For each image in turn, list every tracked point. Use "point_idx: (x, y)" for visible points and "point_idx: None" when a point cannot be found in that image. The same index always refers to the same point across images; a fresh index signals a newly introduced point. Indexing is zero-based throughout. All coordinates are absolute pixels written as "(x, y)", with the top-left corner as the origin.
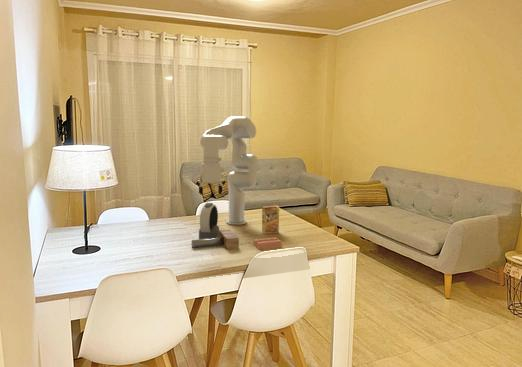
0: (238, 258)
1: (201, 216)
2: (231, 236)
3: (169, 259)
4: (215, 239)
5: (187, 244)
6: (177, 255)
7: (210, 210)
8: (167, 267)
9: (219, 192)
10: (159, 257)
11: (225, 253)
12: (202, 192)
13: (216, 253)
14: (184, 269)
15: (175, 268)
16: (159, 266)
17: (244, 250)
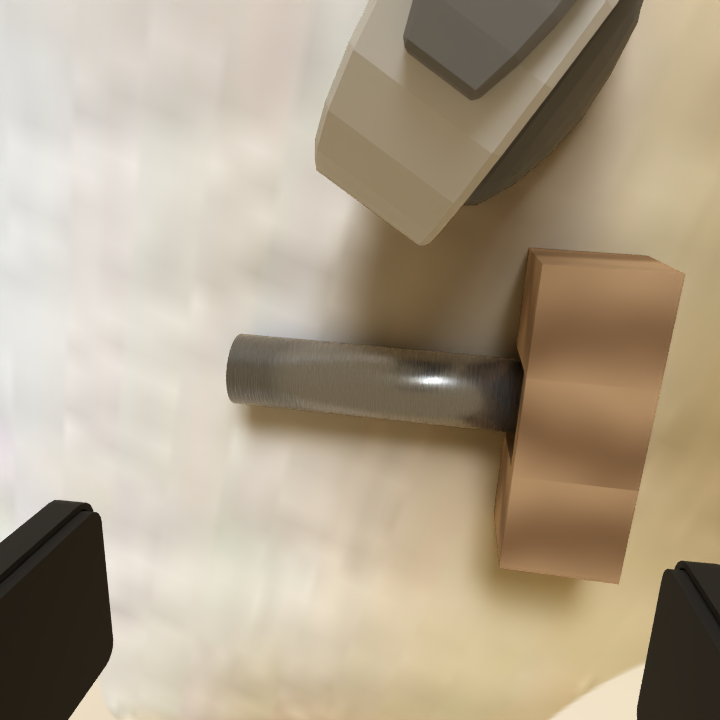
0: (498, 686)
1: (331, 168)
2: (568, 531)
3: None
4: (437, 418)
5: (224, 265)
6: (123, 473)
7: (478, 180)
8: None
9: (657, 717)
10: (10, 460)
11: (451, 574)
12: (70, 703)
13: (389, 548)
14: (142, 686)
15: None
16: None
17: None
